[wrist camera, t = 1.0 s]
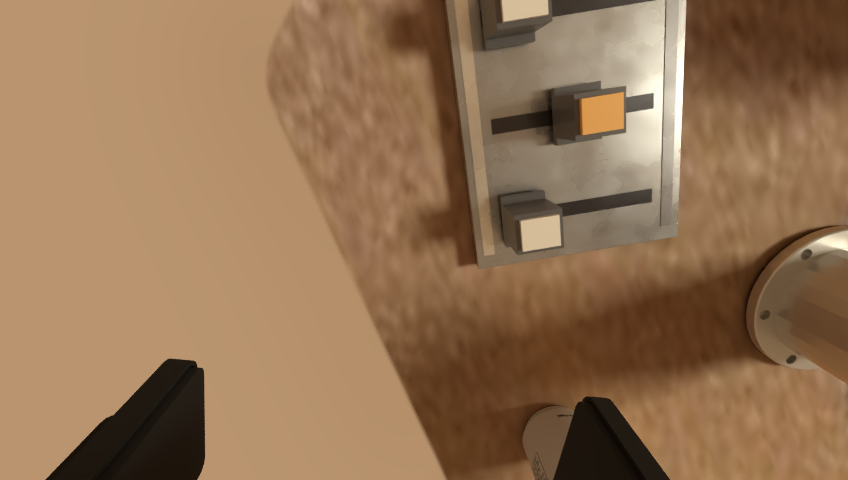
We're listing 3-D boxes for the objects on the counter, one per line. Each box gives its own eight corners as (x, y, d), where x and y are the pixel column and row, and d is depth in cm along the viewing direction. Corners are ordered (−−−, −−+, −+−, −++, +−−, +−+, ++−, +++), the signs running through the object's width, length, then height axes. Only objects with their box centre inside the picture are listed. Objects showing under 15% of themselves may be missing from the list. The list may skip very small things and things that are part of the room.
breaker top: (542, 189, 28) (563, 201, 24) (545, 238, 29) (566, 256, 25) (499, 196, 28) (514, 209, 24) (504, 245, 29) (519, 264, 25)
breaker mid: (596, 81, 26) (628, 75, 22) (597, 138, 27) (629, 141, 23) (550, 88, 26) (575, 84, 22) (554, 145, 27) (578, 150, 23)
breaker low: (528, -24, 24) (551, -49, 20) (532, 42, 25) (555, 30, 21) (478, -15, 24) (492, -39, 20) (484, 50, 25) (499, 39, 21)
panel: (676, -72, 25) (690, -81, 24) (667, 231, 31) (677, 236, 30) (439, -34, 25) (441, -41, 24) (475, 263, 31) (478, 269, 30)
